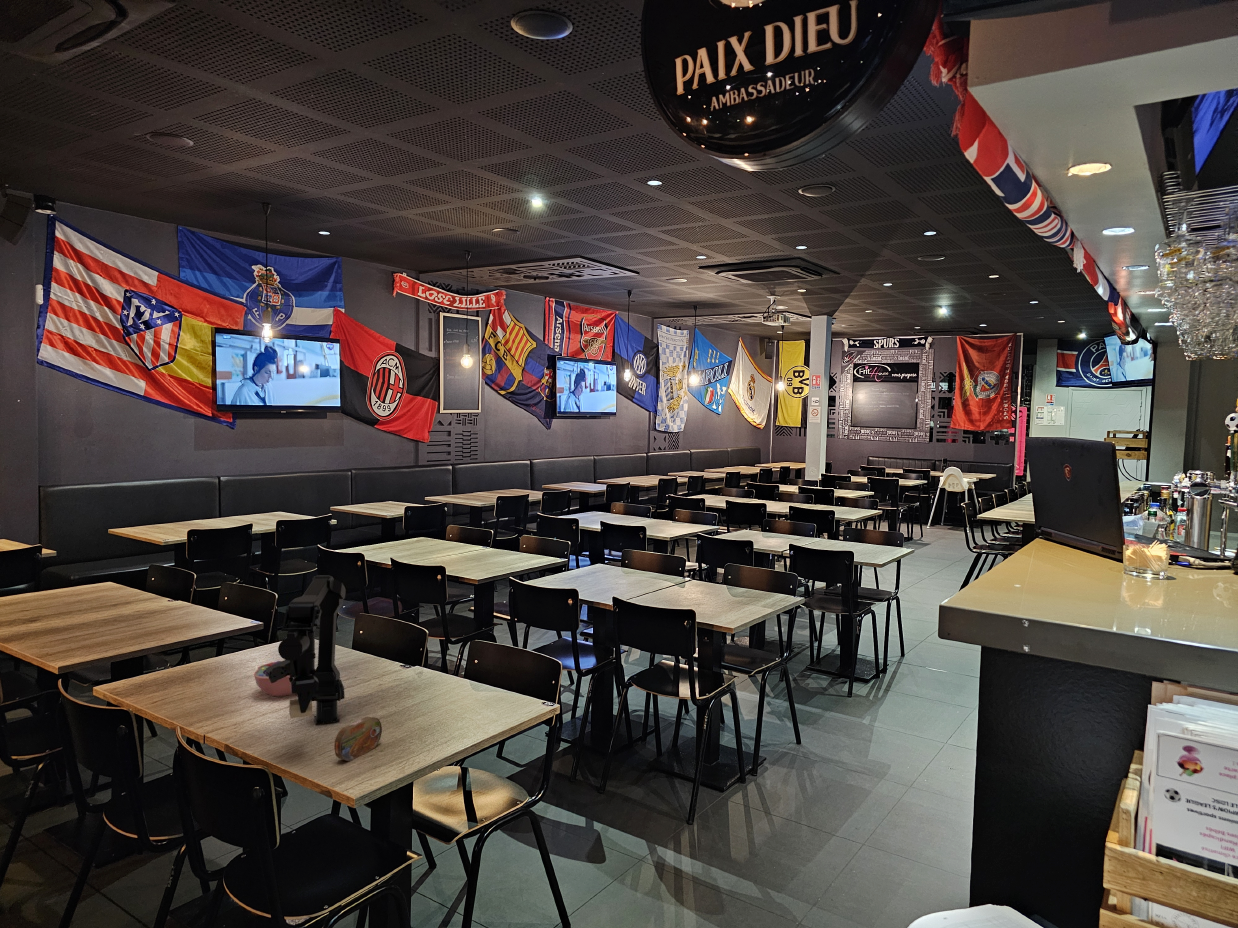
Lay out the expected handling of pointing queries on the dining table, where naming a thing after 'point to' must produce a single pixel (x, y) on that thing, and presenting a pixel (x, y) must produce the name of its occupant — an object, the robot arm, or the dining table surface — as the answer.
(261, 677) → the cell model
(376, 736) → the tin
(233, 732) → the dining table surface
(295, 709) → the oak block
